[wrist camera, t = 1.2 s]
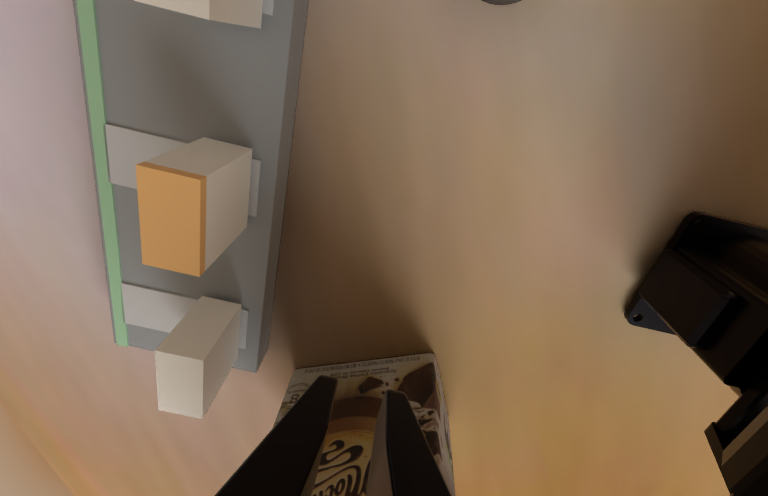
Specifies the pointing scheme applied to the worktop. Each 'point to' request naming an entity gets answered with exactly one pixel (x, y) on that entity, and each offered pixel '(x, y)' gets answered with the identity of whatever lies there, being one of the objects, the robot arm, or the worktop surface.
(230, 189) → the block
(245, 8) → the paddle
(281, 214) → the breaker panel
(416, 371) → the coffee box
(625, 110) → the worktop surface
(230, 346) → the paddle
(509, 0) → the dark grey tall block
